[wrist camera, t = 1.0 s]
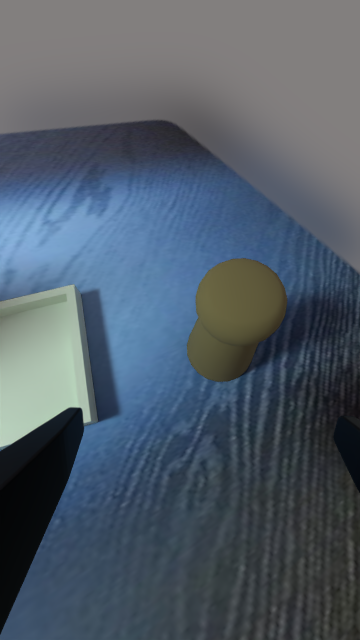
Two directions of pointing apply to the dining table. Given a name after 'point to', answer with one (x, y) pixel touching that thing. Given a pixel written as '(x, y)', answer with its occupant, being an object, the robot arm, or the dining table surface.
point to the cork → (234, 317)
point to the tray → (43, 361)
